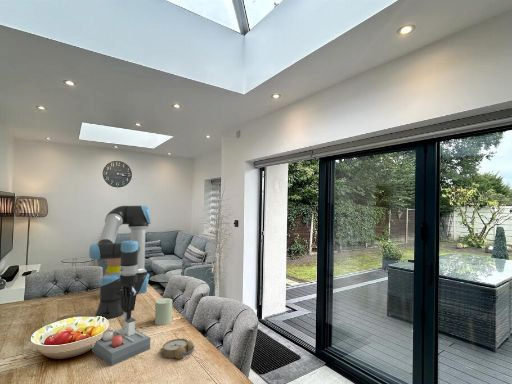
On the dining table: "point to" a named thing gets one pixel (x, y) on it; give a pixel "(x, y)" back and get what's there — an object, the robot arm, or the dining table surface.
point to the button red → (116, 341)
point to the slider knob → (130, 326)
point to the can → (163, 311)
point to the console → (122, 347)
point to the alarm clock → (177, 348)
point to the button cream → (107, 335)
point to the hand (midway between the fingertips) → (127, 325)
